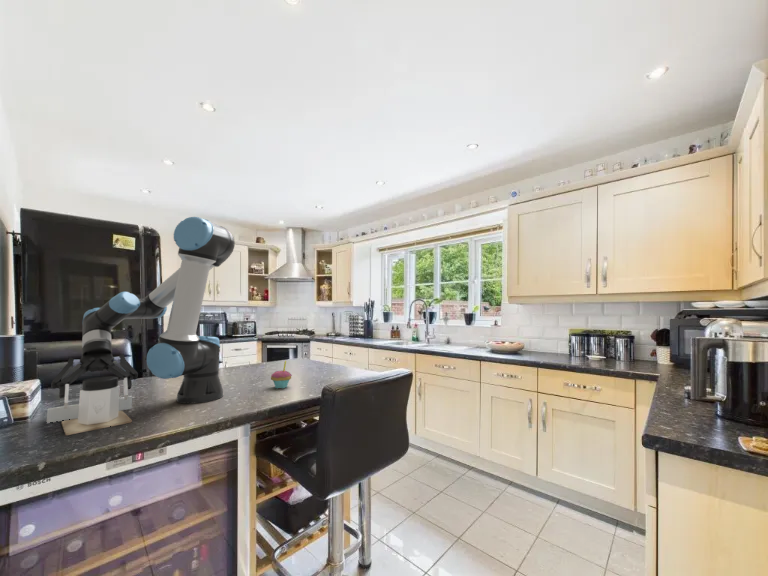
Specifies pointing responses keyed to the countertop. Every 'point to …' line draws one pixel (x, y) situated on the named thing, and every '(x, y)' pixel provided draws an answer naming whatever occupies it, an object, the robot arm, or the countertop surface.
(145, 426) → the countertop surface
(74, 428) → the oak board
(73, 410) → the acrylic wall
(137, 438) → the countertop surface
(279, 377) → the cupcake
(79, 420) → the jar
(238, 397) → the countertop surface
